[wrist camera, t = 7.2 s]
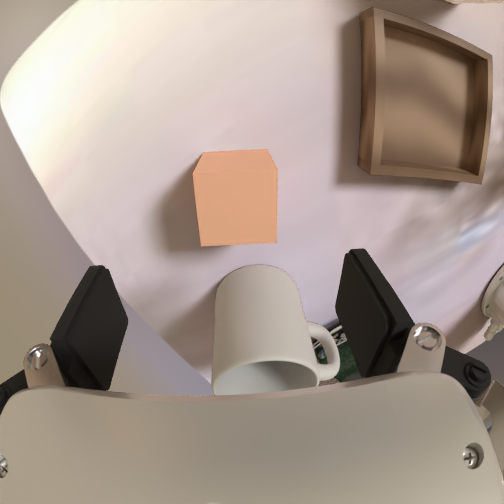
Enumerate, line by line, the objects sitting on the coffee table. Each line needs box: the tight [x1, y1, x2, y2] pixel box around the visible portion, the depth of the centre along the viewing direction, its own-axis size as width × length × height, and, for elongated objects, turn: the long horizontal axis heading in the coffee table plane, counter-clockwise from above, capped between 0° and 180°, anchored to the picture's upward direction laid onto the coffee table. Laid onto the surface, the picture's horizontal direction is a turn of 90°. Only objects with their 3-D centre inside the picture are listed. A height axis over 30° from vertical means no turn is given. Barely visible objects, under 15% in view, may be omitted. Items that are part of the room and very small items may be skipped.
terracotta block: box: [193, 149, 278, 246], centre depth 20 cm, size 5×5×6 cm
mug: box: [211, 264, 340, 395], centre depth 25 cm, size 12×8×11 cm
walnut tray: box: [358, 7, 493, 184], centre depth 18 cm, size 14×14×3 cm
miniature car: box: [312, 325, 365, 383], centre depth 32 cm, size 9×18×8 cm, turn 38°
